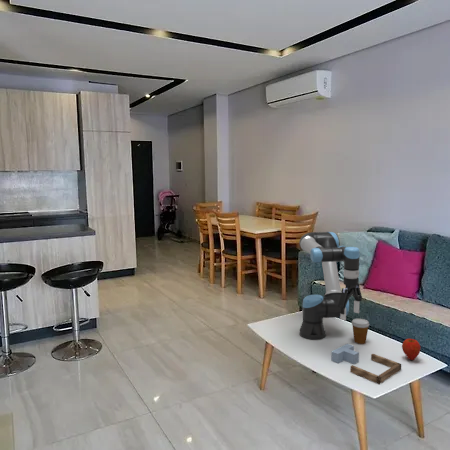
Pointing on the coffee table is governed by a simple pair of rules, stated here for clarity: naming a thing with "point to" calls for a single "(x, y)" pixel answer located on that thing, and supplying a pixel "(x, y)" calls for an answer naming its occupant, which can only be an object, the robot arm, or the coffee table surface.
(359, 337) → the disposable coffee cup
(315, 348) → the coffee table surface
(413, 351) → the apple
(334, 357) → the t block
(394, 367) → the walnut fence
